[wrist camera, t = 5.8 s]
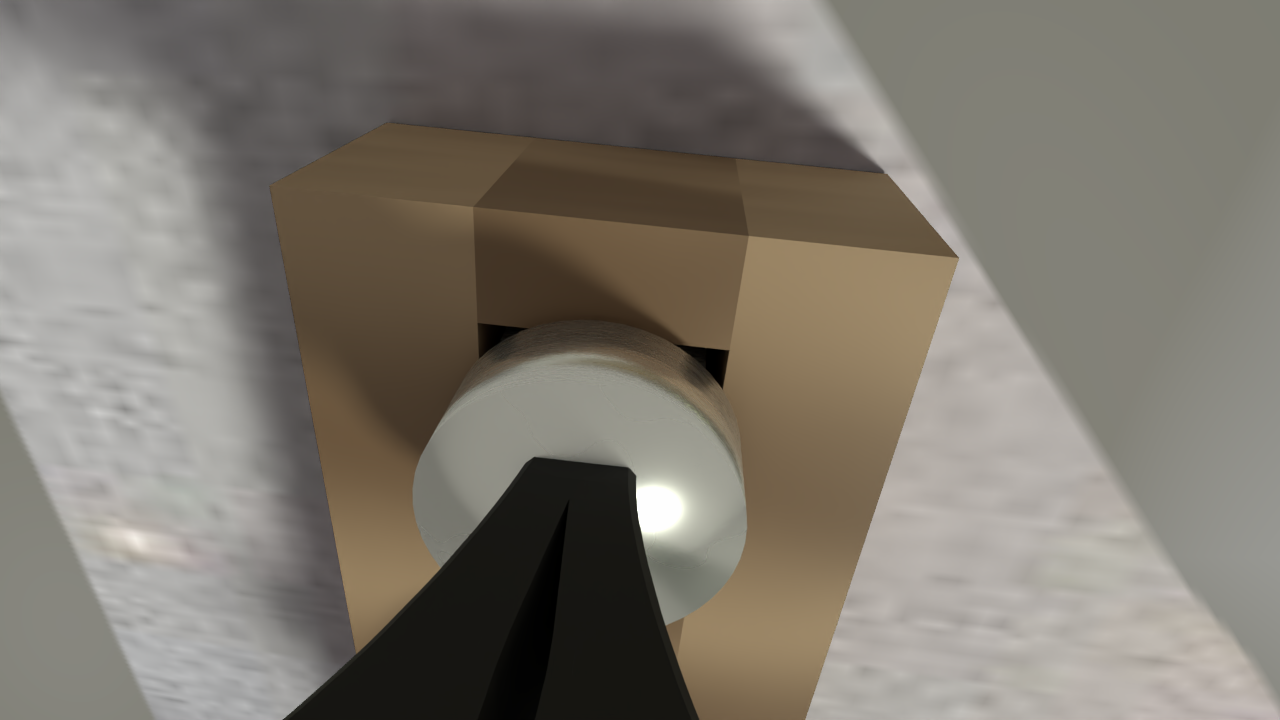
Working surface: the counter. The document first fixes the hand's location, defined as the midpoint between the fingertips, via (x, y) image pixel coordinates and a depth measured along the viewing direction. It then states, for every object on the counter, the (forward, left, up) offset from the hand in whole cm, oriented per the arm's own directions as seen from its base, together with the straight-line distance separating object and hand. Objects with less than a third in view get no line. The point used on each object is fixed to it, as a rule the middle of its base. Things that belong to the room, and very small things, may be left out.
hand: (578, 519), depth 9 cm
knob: (0, 0, -6) cm, 6 cm away
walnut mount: (-5, +5, -6) cm, 9 cm away
